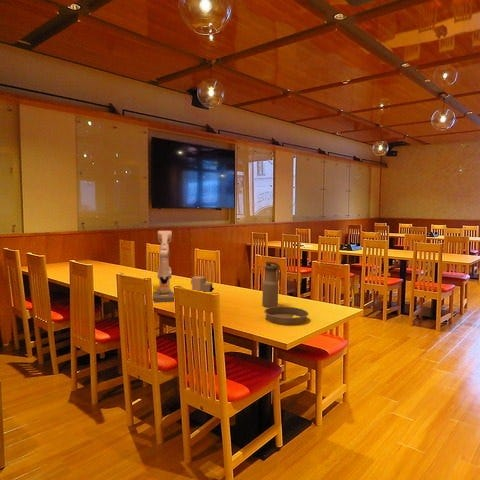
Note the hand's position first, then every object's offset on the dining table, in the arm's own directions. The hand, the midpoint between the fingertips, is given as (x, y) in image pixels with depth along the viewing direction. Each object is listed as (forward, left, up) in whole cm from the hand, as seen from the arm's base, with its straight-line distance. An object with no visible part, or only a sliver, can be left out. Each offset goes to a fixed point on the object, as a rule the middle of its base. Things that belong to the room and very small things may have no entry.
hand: (164, 288), depth 267 cm
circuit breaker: (+8, +25, -7) cm, 27 cm away
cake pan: (+60, +65, -7) cm, 89 cm away
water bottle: (+30, +65, -7) cm, 72 cm away
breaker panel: (+2, 0, -7) cm, 7 cm away
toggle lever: (0, 0, -3) cm, 3 cm away
